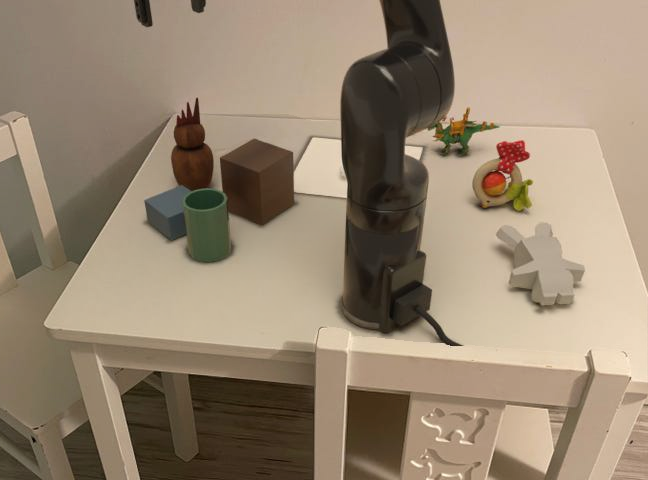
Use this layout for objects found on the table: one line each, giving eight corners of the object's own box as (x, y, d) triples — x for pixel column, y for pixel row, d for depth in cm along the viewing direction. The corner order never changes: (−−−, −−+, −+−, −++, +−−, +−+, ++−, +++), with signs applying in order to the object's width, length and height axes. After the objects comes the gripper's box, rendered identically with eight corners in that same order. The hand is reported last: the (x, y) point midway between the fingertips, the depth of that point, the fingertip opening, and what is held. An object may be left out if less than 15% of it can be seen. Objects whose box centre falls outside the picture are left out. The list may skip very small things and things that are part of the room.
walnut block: (294, 204, 118) (293, 151, 112) (262, 225, 113) (259, 172, 107) (256, 189, 122) (253, 138, 116) (223, 209, 118) (219, 157, 111)
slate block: (209, 224, 114) (207, 201, 112) (171, 240, 111) (167, 217, 109) (184, 207, 119) (182, 184, 116) (147, 222, 116) (143, 199, 113)
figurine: (423, 149, 129) (429, 103, 124) (493, 148, 128) (502, 103, 123) (425, 157, 127) (430, 111, 122) (496, 156, 126) (505, 110, 121)
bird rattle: (487, 229, 113) (547, 206, 111) (467, 170, 107) (530, 144, 104) (478, 209, 118) (536, 186, 115) (459, 150, 111) (519, 125, 109)
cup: (239, 251, 108) (235, 200, 103) (204, 267, 106) (198, 216, 100) (215, 233, 112) (210, 183, 107) (180, 249, 110) (173, 198, 104)
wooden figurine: (217, 178, 125) (209, 91, 115) (213, 195, 121) (204, 107, 111) (178, 178, 126) (167, 92, 116) (172, 195, 122) (160, 107, 112)
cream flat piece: (335, 183, 122) (336, 160, 119) (345, 160, 128) (346, 138, 125) (388, 188, 120) (390, 165, 117) (396, 165, 125) (398, 143, 123)
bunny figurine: (525, 289, 92) (493, 214, 102) (516, 317, 96) (486, 243, 106) (600, 283, 92) (561, 209, 102) (588, 312, 96) (551, 238, 106)
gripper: (121, -104, 88) (143, 37, 99) (218, -122, 94) (229, 12, 105) (92, -110, 93) (116, 25, 104) (187, -128, 99) (200, 1, 109)
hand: (173, 18), depth 104 cm, fingers open, 8 cm apart
